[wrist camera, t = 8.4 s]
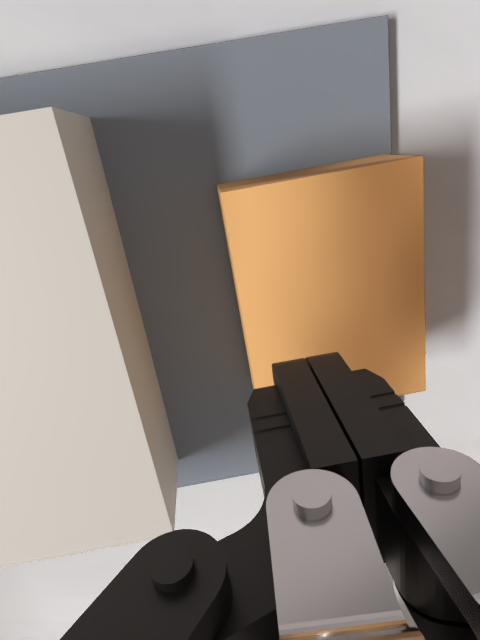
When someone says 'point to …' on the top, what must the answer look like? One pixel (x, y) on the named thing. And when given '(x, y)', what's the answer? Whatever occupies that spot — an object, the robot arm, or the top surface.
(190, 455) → the mat
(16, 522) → the white rectangular block
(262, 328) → the orange flat block
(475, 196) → the top surface
